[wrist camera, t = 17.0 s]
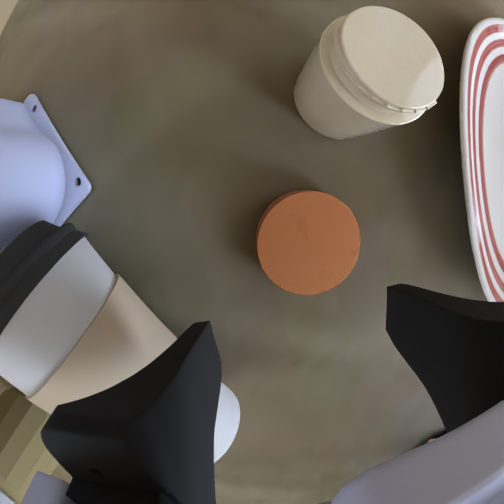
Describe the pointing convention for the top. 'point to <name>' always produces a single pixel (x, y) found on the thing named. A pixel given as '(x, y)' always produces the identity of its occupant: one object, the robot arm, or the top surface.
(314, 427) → the top surface
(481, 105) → the dinner plate
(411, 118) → the jar
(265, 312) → the top surface
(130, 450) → the robot arm
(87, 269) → the coffee cup
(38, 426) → the squeeze bottle
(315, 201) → the lid
